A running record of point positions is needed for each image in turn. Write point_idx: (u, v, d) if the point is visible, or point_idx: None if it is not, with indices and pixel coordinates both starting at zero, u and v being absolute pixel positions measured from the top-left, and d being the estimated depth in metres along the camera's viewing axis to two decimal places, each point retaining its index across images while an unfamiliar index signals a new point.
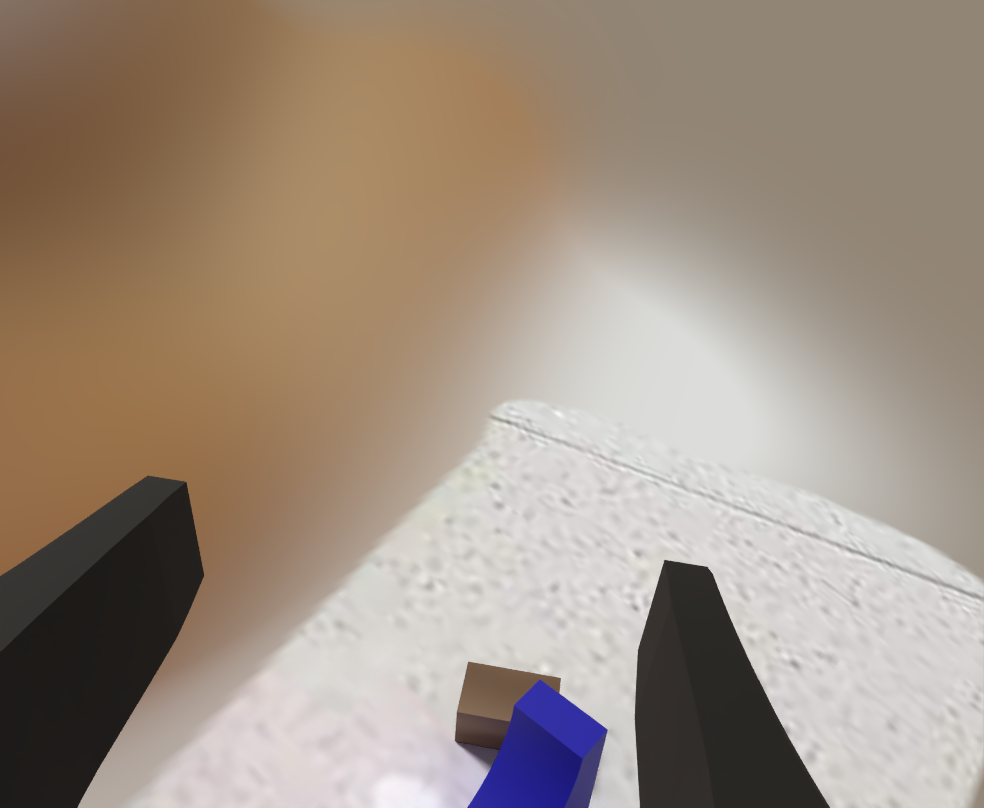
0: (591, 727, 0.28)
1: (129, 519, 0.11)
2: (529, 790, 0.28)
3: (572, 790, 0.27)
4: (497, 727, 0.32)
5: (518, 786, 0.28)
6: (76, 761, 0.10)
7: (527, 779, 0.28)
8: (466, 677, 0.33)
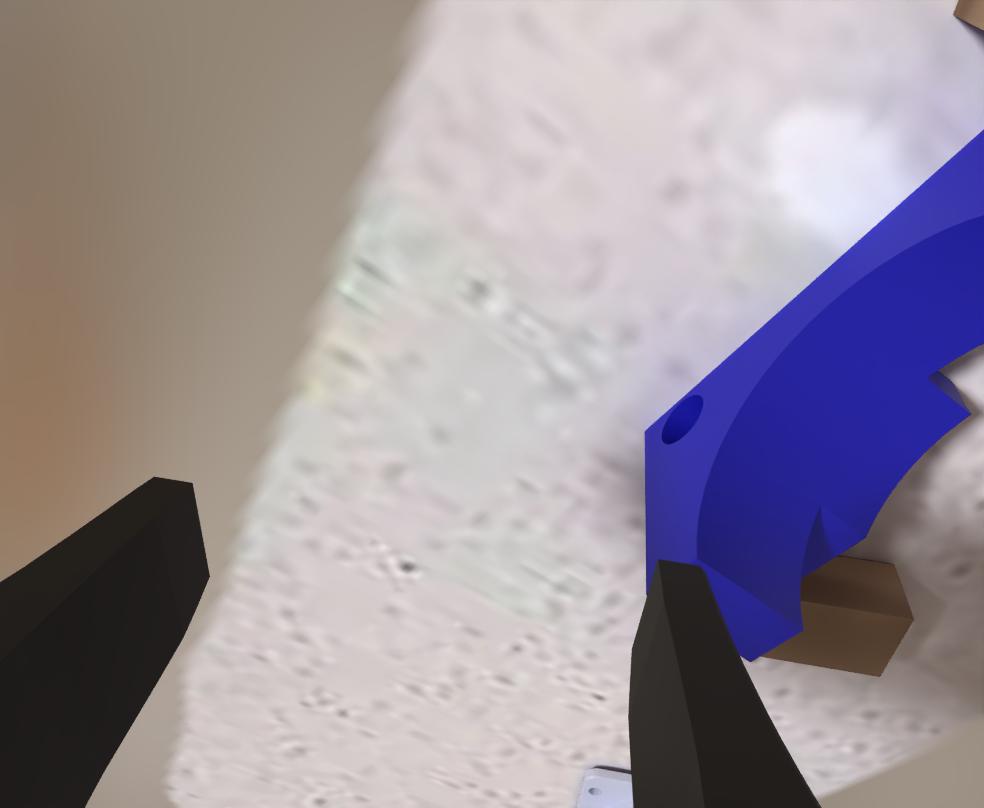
0: None
1: (136, 520, 0.11)
2: None
3: None
4: None
5: None
6: (83, 762, 0.10)
7: None
8: None
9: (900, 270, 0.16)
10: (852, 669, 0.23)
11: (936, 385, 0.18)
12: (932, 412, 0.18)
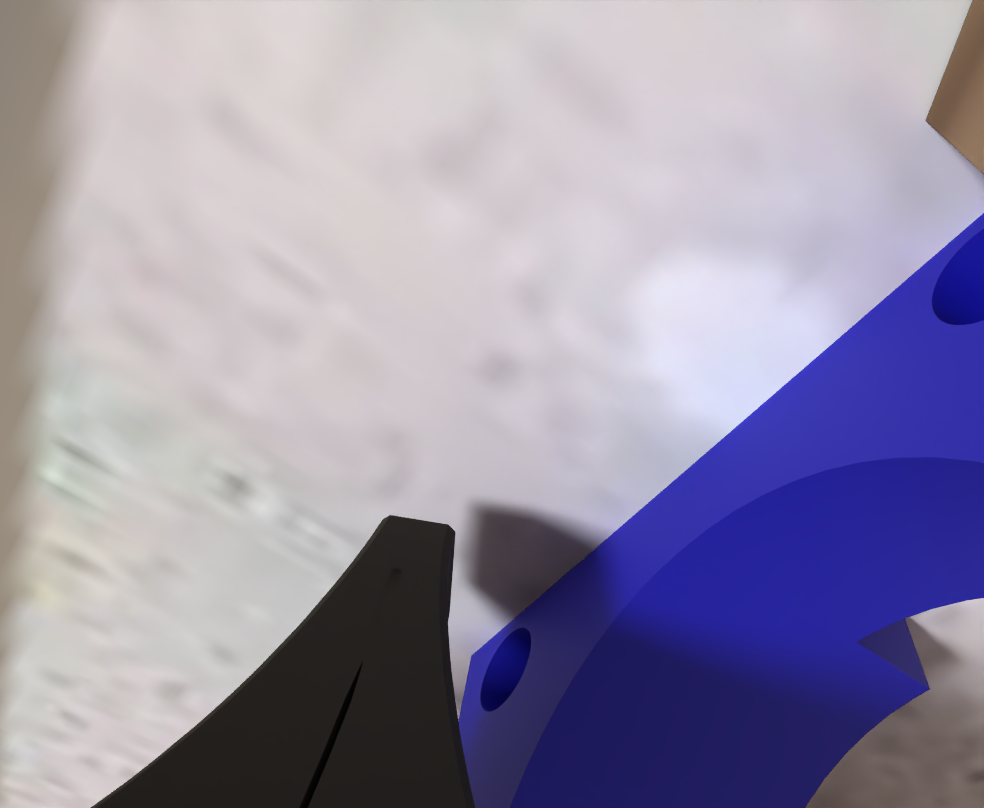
0: None
1: (396, 564, 0.10)
2: None
3: None
4: None
5: None
6: None
7: None
8: None
9: (795, 506, 0.10)
10: None
11: (872, 650, 0.11)
12: (869, 685, 0.12)
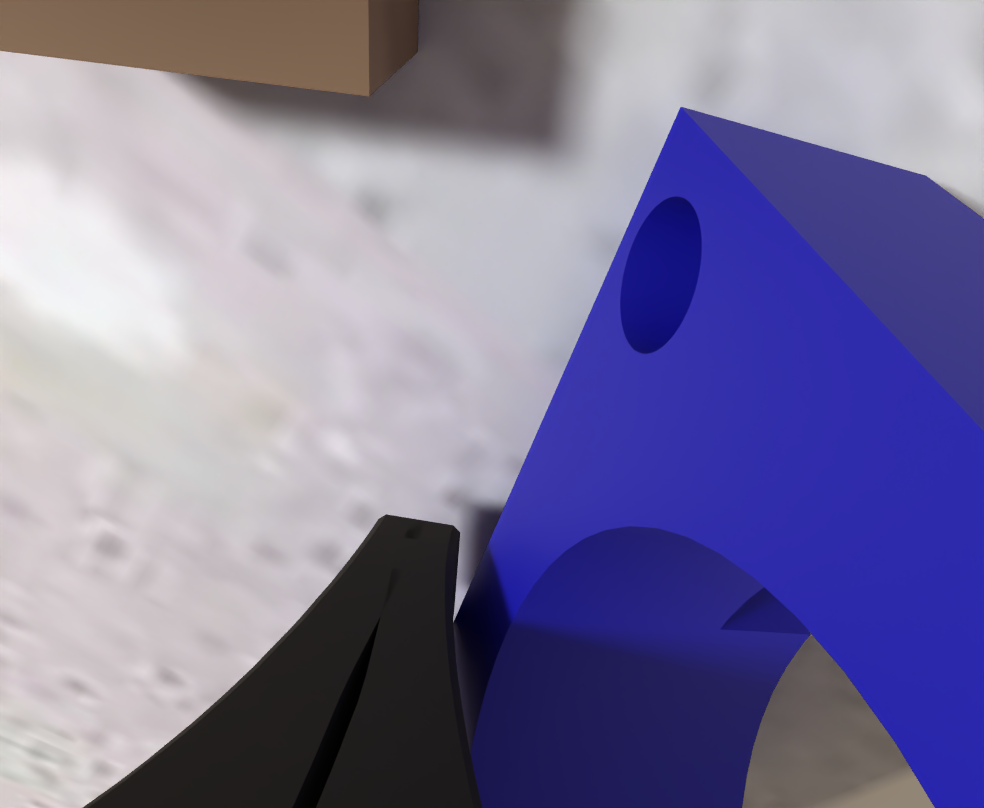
0: None
1: (392, 563, 0.10)
2: None
3: None
4: None
5: None
6: None
7: None
8: None
9: (584, 564, 0.09)
10: None
11: (740, 627, 0.11)
12: (753, 655, 0.11)
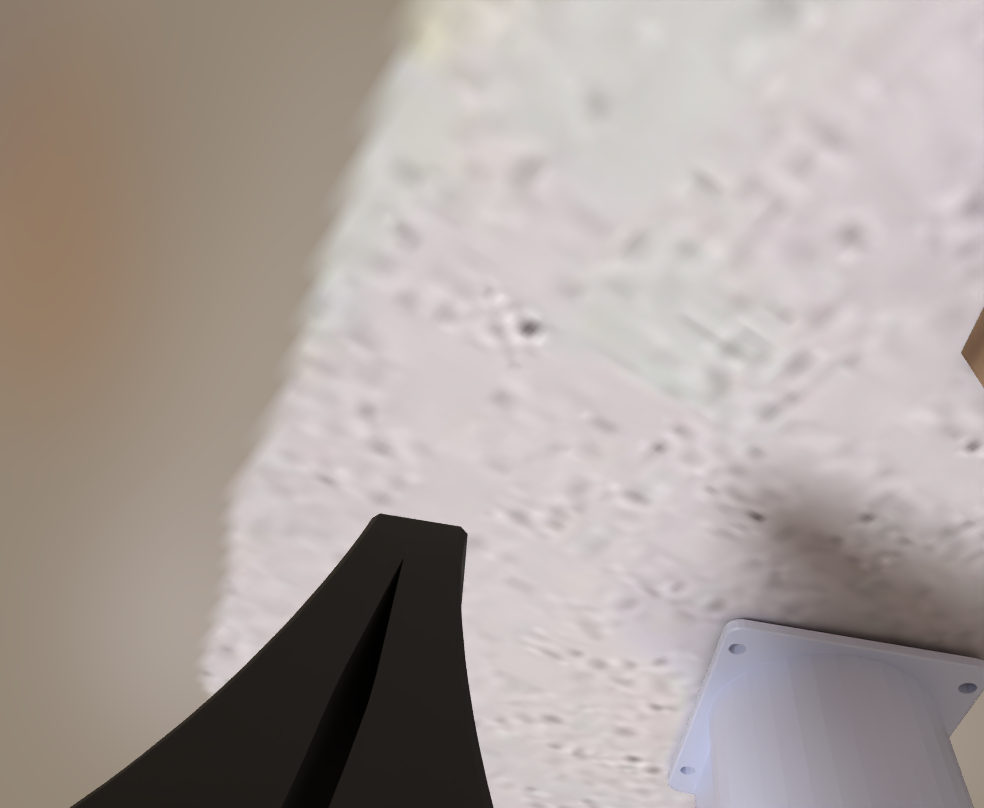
0: None
1: (386, 562, 0.10)
2: None
3: None
4: None
5: None
6: None
7: None
8: None
9: None
10: None
11: None
12: None
